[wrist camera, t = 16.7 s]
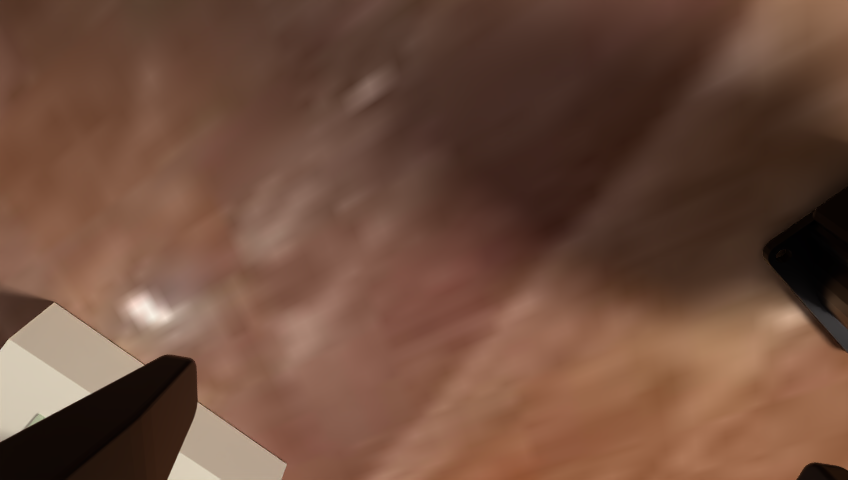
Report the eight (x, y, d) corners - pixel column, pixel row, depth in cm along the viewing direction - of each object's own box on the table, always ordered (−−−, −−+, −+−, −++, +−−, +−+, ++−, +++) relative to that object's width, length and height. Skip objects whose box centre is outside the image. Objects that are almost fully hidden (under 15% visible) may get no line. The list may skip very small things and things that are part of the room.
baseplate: (286, 464, 26) (268, 513, 23) (151, 573, 30) (124, 625, 28) (54, 302, 23) (6, 340, 20) (-61, 449, 27) (-111, 495, 25)
